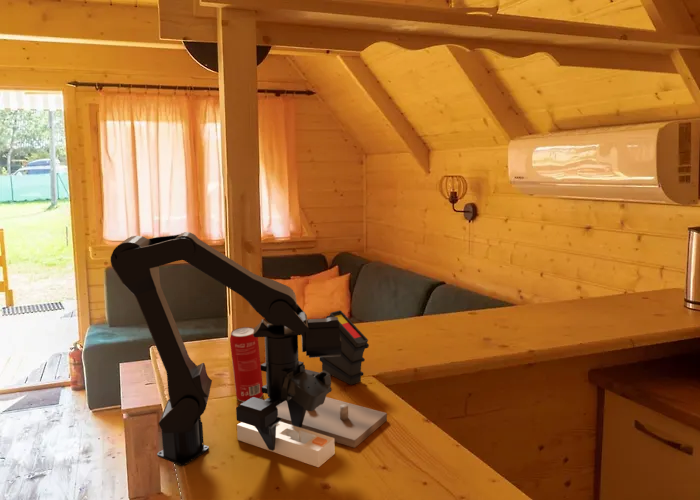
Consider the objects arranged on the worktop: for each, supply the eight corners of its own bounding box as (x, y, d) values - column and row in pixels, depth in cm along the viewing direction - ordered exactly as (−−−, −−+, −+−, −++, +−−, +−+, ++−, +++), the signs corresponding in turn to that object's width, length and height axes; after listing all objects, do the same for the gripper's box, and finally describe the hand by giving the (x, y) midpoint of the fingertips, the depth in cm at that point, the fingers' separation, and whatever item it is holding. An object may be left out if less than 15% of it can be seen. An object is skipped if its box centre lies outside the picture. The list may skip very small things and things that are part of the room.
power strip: (318, 467, 103) (318, 448, 102) (237, 439, 112) (236, 422, 112) (334, 453, 107) (334, 436, 107) (255, 428, 116) (254, 411, 116)
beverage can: (269, 394, 131) (266, 328, 128) (249, 406, 125) (246, 337, 122) (247, 389, 134) (244, 323, 131) (227, 400, 128) (223, 332, 125)
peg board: (354, 447, 109) (354, 427, 108) (267, 420, 119) (266, 401, 119) (386, 420, 119) (386, 401, 118) (303, 397, 129) (302, 379, 129)
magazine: (324, 356, 147) (340, 308, 140) (356, 395, 140) (375, 346, 132) (311, 360, 145) (327, 312, 137) (343, 399, 137) (362, 350, 130)
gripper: (286, 387, 94) (289, 479, 98) (349, 349, 110) (350, 429, 113) (231, 373, 100) (236, 459, 103) (299, 339, 116) (301, 415, 119)
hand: (284, 440), depth 110 cm, fingers open, 7 cm apart
